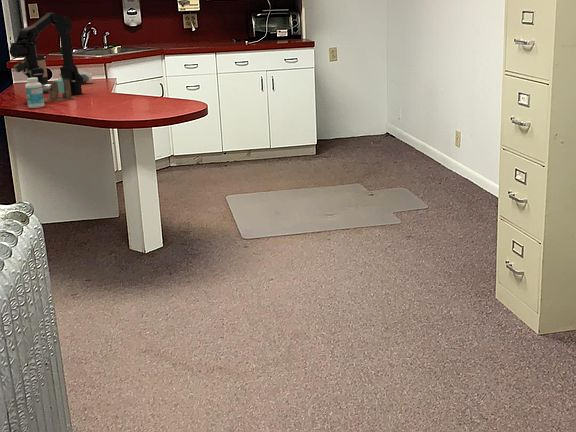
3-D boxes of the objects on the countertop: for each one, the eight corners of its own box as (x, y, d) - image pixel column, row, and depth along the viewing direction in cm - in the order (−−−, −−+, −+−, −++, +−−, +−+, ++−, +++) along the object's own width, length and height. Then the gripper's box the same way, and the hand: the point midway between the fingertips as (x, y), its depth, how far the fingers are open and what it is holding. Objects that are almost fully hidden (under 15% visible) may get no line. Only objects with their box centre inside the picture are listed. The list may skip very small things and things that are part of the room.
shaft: (67, 89, 380) (66, 80, 378) (70, 89, 376) (69, 81, 375) (29, 93, 370) (28, 84, 369) (31, 94, 367) (30, 84, 365)
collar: (61, 91, 379) (59, 79, 377) (64, 92, 374) (63, 80, 372) (55, 92, 378) (53, 80, 376) (58, 93, 373) (57, 81, 371)
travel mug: (32, 94, 405) (26, 56, 399) (41, 92, 412) (36, 54, 406) (43, 94, 402) (38, 56, 396) (52, 92, 409) (47, 54, 403)
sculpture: (96, 83, 443) (94, 67, 440) (64, 87, 434) (62, 70, 431) (84, 80, 464) (82, 64, 461) (53, 84, 454) (51, 67, 452)
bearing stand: (69, 97, 384) (66, 79, 381) (75, 98, 376) (72, 80, 373) (29, 101, 374) (26, 83, 371) (34, 103, 366) (32, 84, 363)
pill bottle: (27, 107, 354) (23, 78, 350) (43, 105, 356) (39, 76, 353) (28, 108, 347) (24, 79, 343) (45, 107, 350) (41, 78, 346)
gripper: (9, 56, 368) (14, 88, 373) (18, 57, 353) (23, 91, 357) (32, 54, 374) (36, 85, 378) (42, 55, 358) (46, 88, 363)
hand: (35, 87), depth 369 cm, fingers open, 9 cm apart
